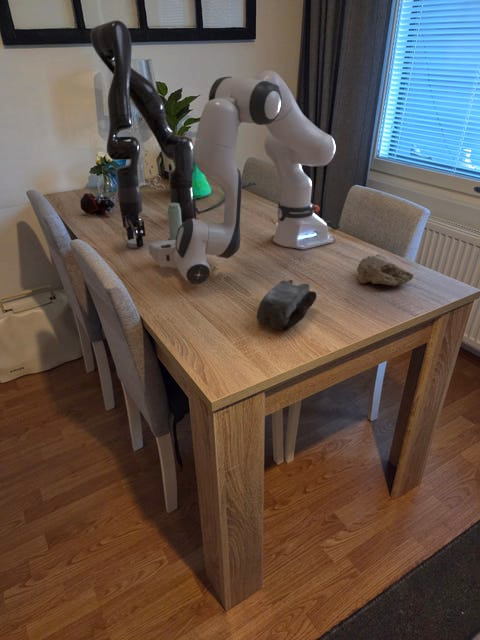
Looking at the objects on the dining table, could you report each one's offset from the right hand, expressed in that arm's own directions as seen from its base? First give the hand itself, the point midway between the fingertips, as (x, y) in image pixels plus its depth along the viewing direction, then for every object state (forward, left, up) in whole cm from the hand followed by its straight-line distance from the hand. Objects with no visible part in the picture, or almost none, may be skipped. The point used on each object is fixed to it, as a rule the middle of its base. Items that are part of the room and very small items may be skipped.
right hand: (175, 238), depth 151 cm
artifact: (-56, +39, -6) cm, 68 cm away
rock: (-19, +51, -6) cm, 54 cm away
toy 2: (-23, -70, -6) cm, 73 cm away
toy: (+22, -54, -6) cm, 59 cm away
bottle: (0, +1, -6) cm, 6 cm away
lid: (+12, -14, -5) cm, 19 cm away
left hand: (+12, -14, -5) cm, 19 cm away
